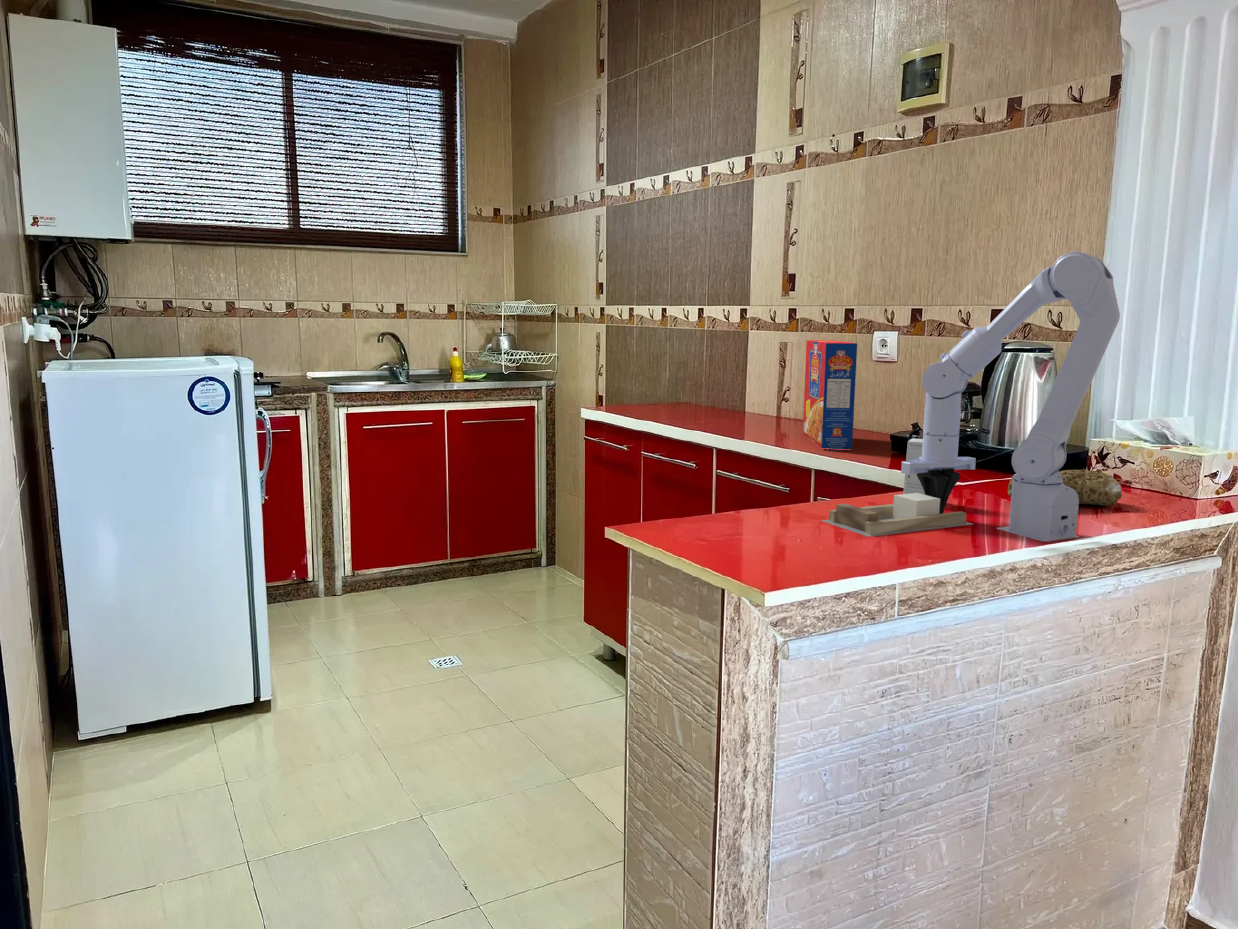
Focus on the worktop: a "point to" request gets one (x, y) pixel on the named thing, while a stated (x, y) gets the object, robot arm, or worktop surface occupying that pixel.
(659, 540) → the worktop surface
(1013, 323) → the robot arm
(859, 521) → the guide rails
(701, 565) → the worktop surface
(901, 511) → the block
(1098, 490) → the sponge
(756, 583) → the worktop surface
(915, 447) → the skincare box
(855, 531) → the track board
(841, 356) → the pasta box
